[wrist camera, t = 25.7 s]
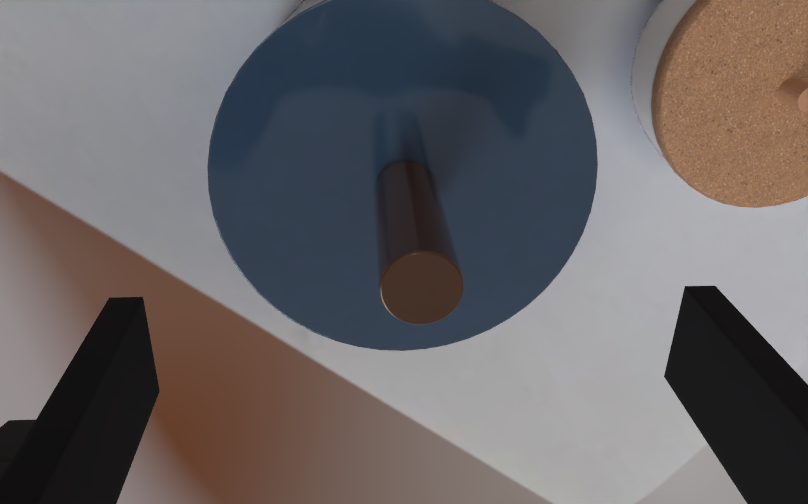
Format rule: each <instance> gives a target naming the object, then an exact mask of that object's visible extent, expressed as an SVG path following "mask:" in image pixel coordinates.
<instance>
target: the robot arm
mask: <svg viewBox="0 0 808 504" xmlns="http://www.w3.org/2000/svg"><path fill="white" fill-rule="evenodd" d="M664 377H665V378H666V380H667V382H668V383H669V385H670V386H671V388H672V389H673V391H674V392H675V394H676V395H677V397H678V398H679V400H680V401H681V403H682V404H683V406H684V407H685V409H686V411H687V412H688V414H689V415H690V417H691V418H692V420H693V421H694V423H695V424H696V426H697V427H698V429H699V430H700V432H701V433H702V435H703V437H704V438H705V440H706V441H707V443H708V444H709V446H710V447H711V449H712V450H713V452H714V453H715V455H716V456H717V458H718V459H719V461H720V462H721V464H722V465H723V467H724V469H725V470H726V472H727V473H728V475H729V476H730V478H731V479H732V481H733V482H734V484H735V485H736V487H737V488H738V490H739V491H740V493H741V495H742V496H743V497H744V499H745V501H746V502H747V504H808V385H807V384H806V383H805V381H803V379H802V378H801V377H800V376H799V375H798V374H797V373H796V372H795V371H794V370H793V369H792V368H791V366H790V365H789V364H788V363H787V362H786V361H785V360H784V359H783V358H782V357H781V356H780V355H779V354H778V353H777V352H776V350H775V349H774V348H773V347H772V346H771V345H770V344H769V343H768V342H767V341H766V340H765V339H764V338H763V337H762V335H761V334H760V333H759V332H758V331H757V330H756V329H755V328H754V327H753V326H752V325H751V324H750V323H749V322H748V321H747V319H746V318H745V317H744V316H743V315H742V314H741V313H740V312H739V311H738V310H737V309H736V308H735V307H734V306H733V305H732V303H731V302H730V301H729V300H728V299H727V298H726V297H725V296H724V295H723V294H722V293H721V292H720V291H719V290H718V289H717V287H716V286H685V289H684V293H683V298H682V302H681V306H680V311H679V315H678V319H677V324H676V328H675V332H674V336H673V341H672V345H671V349H670V354H669V358H668V362H667V367H666V371H665V375H664ZM158 394H159V386H158V380H157V374H156V369H155V363H154V358H153V352H152V346H151V340H150V335H149V329H148V323H147V318H146V312H145V306H144V301H143V297H123V298H109V299H108V301H107V302H106V304H105V306H104V308H103V309H102V311H101V313H100V314H99V316H98V318H97V319H96V321H95V323H94V324H93V326H92V328H91V329H90V331H89V333H88V334H87V336H86V338H85V339H84V341H83V343H82V344H81V346H80V348H79V349H78V351H77V353H76V354H75V356H74V358H73V360H72V361H71V363H70V364H69V366H68V368H67V369H66V371H65V373H64V374H63V376H62V378H61V379H60V381H59V383H58V385H57V386H56V388H55V389H54V391H53V393H52V395H51V396H50V398H49V399H48V401H47V403H46V405H45V406H44V408H43V409H42V411H41V413H40V414H39V416H38V418H37V419H36V420H10V421H8V422H7V423H5V424H4V425H3V426H2V427H0V504H116V503H117V500H118V498H119V495H120V492H121V490H122V487H123V485H124V482H125V479H126V477H127V474H128V472H129V469H130V467H131V464H132V461H133V459H134V456H135V454H136V451H137V448H138V446H139V443H140V441H141V438H142V435H143V433H144V430H145V427H146V425H147V422H148V420H149V417H150V415H151V412H152V409H153V407H154V404H155V402H156V399H157V396H158Z"/></svg>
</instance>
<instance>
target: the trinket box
mask: <svg viewBox="0 0 808 504" xmlns="http://www.w3.org/2000/svg"><path fill="white" fill-rule="evenodd" d="M630 85H631V95H632V101H633V105H634V109H635V112H636V115H637V118H638V121H639V123H640V125H641V127H642V129H643V131H644V133H645V135H646V136H647V138H648V139H649V141H650V142H651V144H652V145H653V146H654V148H655V149H656V151H657V152H658V153H659V155H660V156H661V157H662V158H663V159H664V160H665V161H667V162H668V163H669V165H670V166H671V167H672V169H673V170H674V172H675V173H676V174H678V175H679V176H680V177H681V178H682V179H683V180H684V181H685V182H686V183H687V184H688V185H689V186H691V187H692V188H693V189H695V190H696V191H698V192H700V193H701V194H703V195H704V196H706V197H708V198H711V199H713V200H716V201H718V202H721V203H724V204H729V205H734V206H738V207H766V206H776V205H780V204H784V203H788V202H792V201H795V200H798V199H801V198H803V197H806V196H808V0H662V2H661V3H660V4H659V5H658V6H657V8H656V9H655V10H654V12H653V13H652V15H651V16H650V17H649V19H648V21H647V23H646V25H645V26H644V28H643V30H642V32H641V34H640V37H639V40H638V42H637V45H636V48H635V52H634V57H633V61H632V67H631V82H630Z"/></svg>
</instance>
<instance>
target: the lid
mask: <svg viewBox="0 0 808 504" xmlns="http://www.w3.org/2000/svg"><path fill="white" fill-rule="evenodd" d="M597 166H598V163H597V145H596V137H595V132H594V127H593V122H592V117H591V114H590V111H589V108H588V105H587V103H586V100H585V97H584V94H583V92H582V90H581V88H580V86H579V84H578V82H577V81H576V79H575V77H574V75H573V73H572V71H571V70H570V68H569V67H568V66H567V64H566V63H565V61H564V60H563V59H562V57H561V56H560V55H559V53H558V52H557V50H556V49H555V48H554V47H553V46H552V45H551V44H550V43H549V42H548V41H547V40H546V39H545V38H544V37H543V36H542V35H541V34H540V33H539V32H538V31H537V30H536V29H534V28H533V27H532V26H530V25H529V24H528V23H526V22H525V21H524V20H522V19H521V18H520V17H519V16H517V15H516V14H515V13H513V12H511V11H509V10H508V9H506V8H504V7H502V6H500V5H499V4H497V3H495V2H493V1H491V0H320V1H318V2H316V3H315V4H313V5H311V6H309V7H307V8H305V9H303V10H301V11H299V12H298V13H297V14H295V15H294V16H292V17H291V18H290V19H288V20H287V21H285V22H284V23H282V24H281V25H280V26H278V27H277V28H276V29H275V30H274V31H273V32H272V33H271V34H270V35H269V36H268V37H266V38H265V39H264V40H263V41H262V42H261V43H260V44H259V45H258V46H257V47H256V49H255V50H254V51H253V52H252V54H251V55H250V56H249V57H248V59H247V60H246V61H245V63H244V64H243V65H242V66H241V68H240V69H239V71H238V72H237V74H236V76H235V78H234V79H233V81H232V83H231V84H230V86H229V88H228V90H227V91H226V93H225V96H224V98H223V101H222V103H221V106H220V108H219V111H218V113H217V115H216V119H215V123H214V127H213V131H212V135H211V139H210V146H209V156H208V188H209V195H210V201H211V206H212V211H213V216H214V218H215V221H216V224H217V227H218V230H219V233H220V236H221V238H222V240H223V243H224V245H225V247H226V249H227V251H228V253H229V255H230V257H231V258H232V260H233V261H234V263H235V264H236V266H237V267H238V269H239V270H240V272H241V273H242V275H243V276H244V278H245V279H246V280H247V281H248V282H249V283H250V284H251V286H252V287H253V288H254V289H255V290H256V291H257V292H258V294H259V295H261V296H262V297H263V298H264V299H265V300H266V301H267V302H268V303H270V304H271V305H272V306H273V307H274V308H275V309H276V310H278V311H279V312H281V313H282V314H284V315H285V316H287V317H288V318H289V319H291V320H292V321H294V322H295V323H297V324H299V325H301V326H303V327H305V328H307V329H309V330H311V331H312V332H314V333H317V334H319V335H322V336H325V337H327V338H330V339H332V340H335V341H338V342H342V343H346V344H350V345H354V346H357V347H364V348H371V349H378V350H400V351H404V350H417V349H427V348H433V347H438V346H443V345H448V344H451V343H455V342H458V341H461V340H465V339H468V338H471V337H473V336H475V335H478V334H480V333H482V332H485V331H487V330H489V329H491V328H493V327H495V326H497V325H498V324H500V323H502V322H504V321H506V320H507V319H509V318H510V317H512V316H513V315H515V314H516V313H517V312H519V311H520V310H522V309H523V308H524V307H526V306H527V305H528V304H529V303H531V302H532V301H533V300H534V299H535V298H536V297H537V296H538V295H539V294H541V293H542V292H543V291H544V290H545V289H546V288H547V286H548V285H549V284H550V283H551V282H552V281H553V280H554V278H555V277H556V276H557V275H558V274H559V273H560V271H561V270H562V268H563V267H564V265H565V264H566V262H567V261H568V259H569V258H570V256H571V255H572V253H573V251H574V249H575V247H576V245H577V244H578V242H579V240H580V238H581V236H582V234H583V231H584V228H585V226H586V223H587V220H588V217H589V215H590V212H591V207H592V203H593V198H594V194H595V189H596V178H597Z"/></svg>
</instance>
